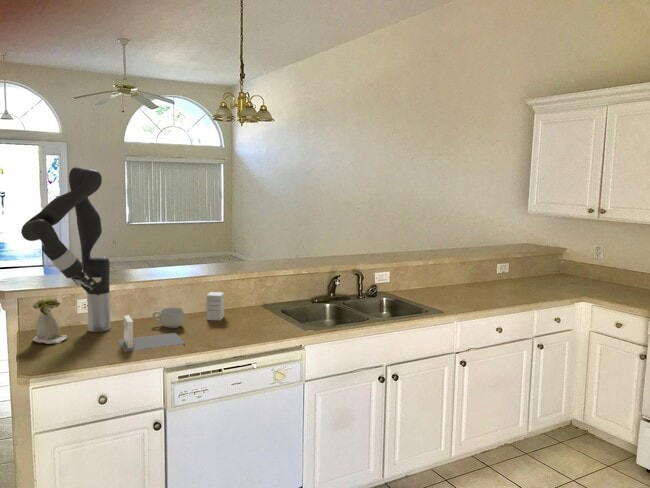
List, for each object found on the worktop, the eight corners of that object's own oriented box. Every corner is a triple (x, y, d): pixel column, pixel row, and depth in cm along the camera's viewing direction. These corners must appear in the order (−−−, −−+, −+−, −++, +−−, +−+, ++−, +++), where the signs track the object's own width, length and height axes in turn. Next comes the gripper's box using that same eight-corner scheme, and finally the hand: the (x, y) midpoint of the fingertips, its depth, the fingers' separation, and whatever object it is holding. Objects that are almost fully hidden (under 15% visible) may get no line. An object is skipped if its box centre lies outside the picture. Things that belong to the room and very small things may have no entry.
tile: (124, 341, 214) (123, 315, 212) (130, 340, 215) (129, 315, 213) (128, 348, 205) (127, 322, 204) (134, 347, 206) (133, 321, 205)
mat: (118, 341, 215) (118, 339, 215) (175, 334, 227) (175, 332, 227) (123, 353, 202) (123, 351, 201) (184, 345, 213) (184, 343, 213)
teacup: (186, 323, 244) (186, 307, 243) (180, 330, 233) (179, 313, 232) (158, 322, 244) (157, 306, 243) (149, 329, 233) (149, 312, 232)
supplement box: (210, 316, 258) (210, 291, 257) (224, 316, 258) (224, 292, 256) (206, 320, 251) (206, 295, 249) (220, 320, 251) (221, 295, 249)
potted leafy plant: (47, 347, 206) (45, 303, 203) (25, 342, 211) (22, 299, 208) (72, 339, 217) (70, 296, 214) (50, 334, 222) (48, 293, 219)
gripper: (83, 257, 190) (110, 287, 199) (67, 255, 200) (94, 284, 208) (67, 271, 186) (96, 301, 195) (51, 268, 196) (80, 297, 204)
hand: (95, 292), depth 201 cm, fingers open, 8 cm apart
